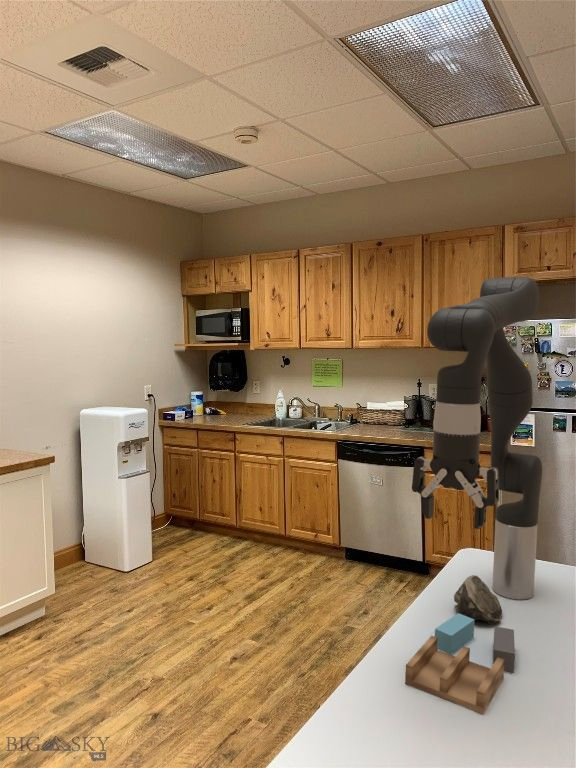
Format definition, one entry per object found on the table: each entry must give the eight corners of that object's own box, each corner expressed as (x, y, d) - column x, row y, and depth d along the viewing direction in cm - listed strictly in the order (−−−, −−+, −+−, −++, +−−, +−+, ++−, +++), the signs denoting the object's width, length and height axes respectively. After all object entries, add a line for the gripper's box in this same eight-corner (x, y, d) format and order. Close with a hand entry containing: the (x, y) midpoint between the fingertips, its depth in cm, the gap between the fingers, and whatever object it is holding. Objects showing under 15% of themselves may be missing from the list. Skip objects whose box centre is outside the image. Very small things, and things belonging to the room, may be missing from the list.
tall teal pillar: (457, 631, 120) (458, 613, 120) (473, 638, 118) (474, 619, 117) (434, 648, 114) (434, 628, 114) (450, 655, 111) (451, 635, 111)
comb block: (430, 652, 112) (431, 635, 112) (503, 678, 104) (504, 659, 104) (405, 683, 102) (405, 664, 102) (483, 714, 94) (484, 693, 94)
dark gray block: (493, 645, 115) (494, 626, 115) (512, 649, 114) (513, 629, 114) (492, 670, 107) (493, 649, 106) (513, 674, 106) (514, 653, 105)
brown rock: (509, 628, 120) (487, 586, 120) (468, 644, 122) (446, 602, 122) (500, 602, 131) (480, 563, 131) (462, 617, 133) (442, 578, 133)
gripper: (506, 430, 96) (501, 525, 98) (424, 421, 105) (421, 509, 106) (493, 437, 90) (488, 538, 92) (407, 427, 99) (404, 520, 100)
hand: (452, 522), depth 99 cm, fingers open, 8 cm apart
